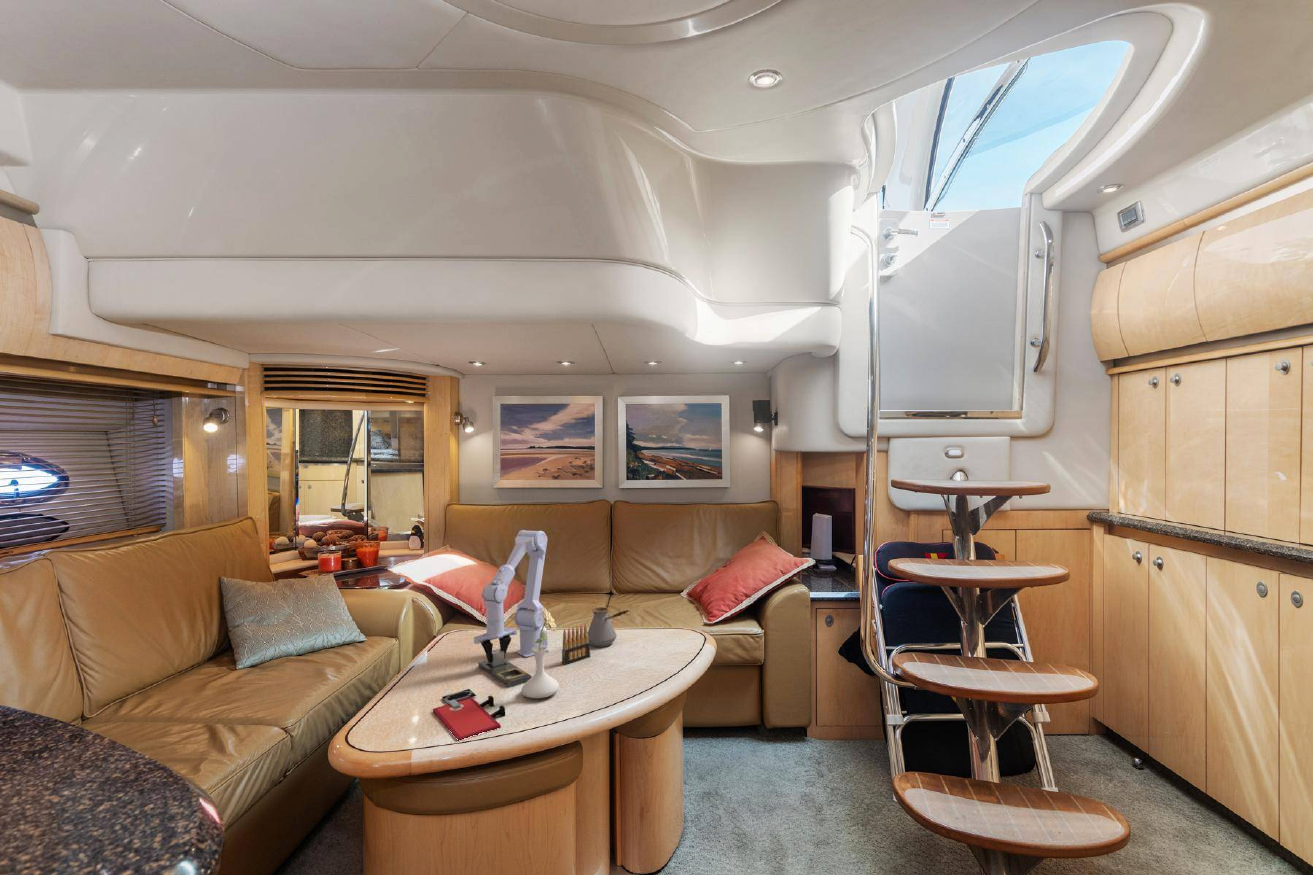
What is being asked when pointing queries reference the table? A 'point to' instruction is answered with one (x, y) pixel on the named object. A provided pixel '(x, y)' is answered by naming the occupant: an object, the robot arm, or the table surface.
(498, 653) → the grey rectangular block
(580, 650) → the ammunition clip
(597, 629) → the coffee pot
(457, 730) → the red board with handle
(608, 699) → the table surface
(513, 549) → the robot arm
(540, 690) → the flower in vase
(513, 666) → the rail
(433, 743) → the table surface
